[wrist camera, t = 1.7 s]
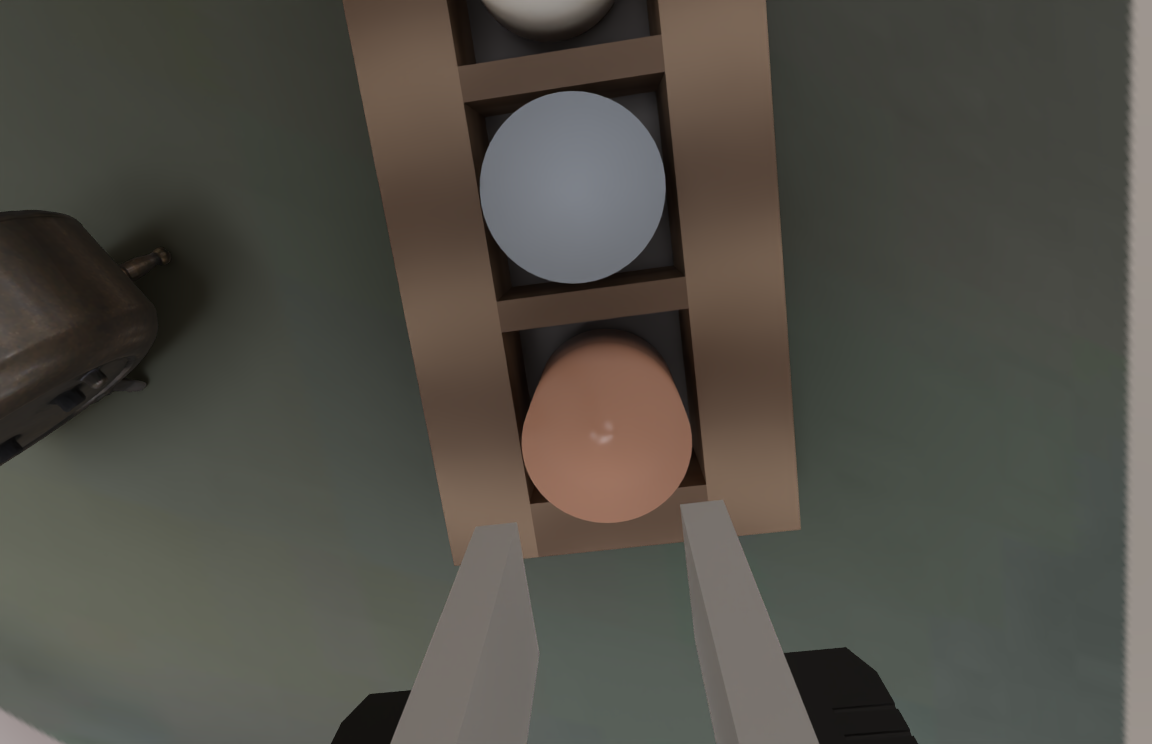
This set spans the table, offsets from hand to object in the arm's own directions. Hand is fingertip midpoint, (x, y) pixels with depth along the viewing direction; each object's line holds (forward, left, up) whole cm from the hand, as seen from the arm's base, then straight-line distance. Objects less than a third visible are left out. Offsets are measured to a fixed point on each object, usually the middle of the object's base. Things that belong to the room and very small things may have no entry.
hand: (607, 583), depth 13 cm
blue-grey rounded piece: (-7, 0, -12) cm, 14 cm away
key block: (-7, 0, -15) cm, 16 cm away
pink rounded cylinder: (0, 0, -12) cm, 12 cm away
